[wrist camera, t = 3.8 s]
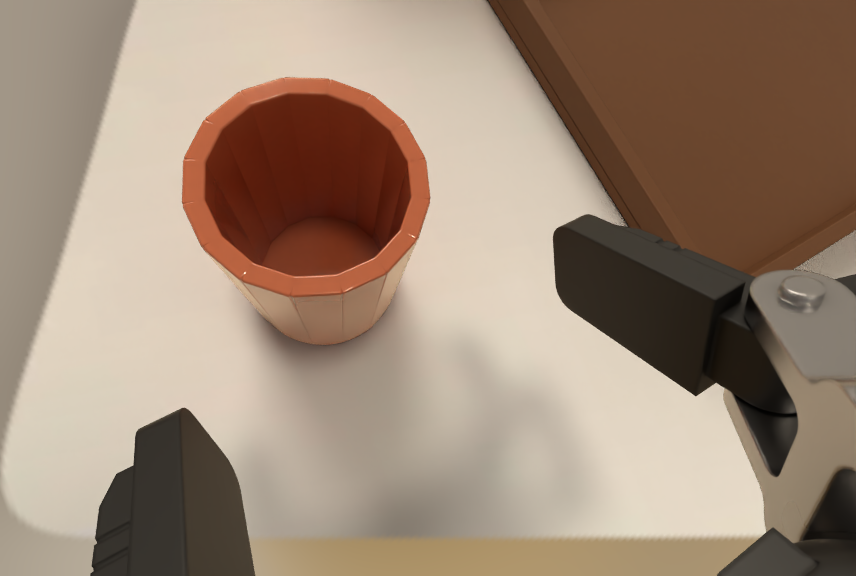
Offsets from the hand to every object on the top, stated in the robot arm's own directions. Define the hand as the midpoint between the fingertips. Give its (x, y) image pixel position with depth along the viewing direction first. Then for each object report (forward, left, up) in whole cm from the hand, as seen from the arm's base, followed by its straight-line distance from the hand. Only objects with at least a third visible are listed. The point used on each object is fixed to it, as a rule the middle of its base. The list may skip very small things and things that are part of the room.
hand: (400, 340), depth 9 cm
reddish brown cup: (0, +5, -10) cm, 11 cm away
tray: (+29, +6, -10) cm, 31 cm away
